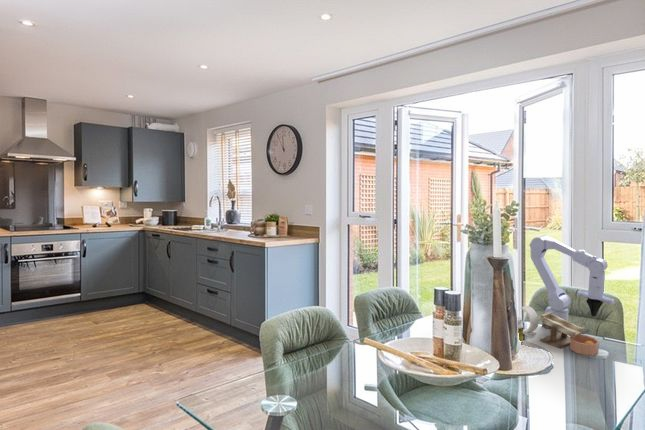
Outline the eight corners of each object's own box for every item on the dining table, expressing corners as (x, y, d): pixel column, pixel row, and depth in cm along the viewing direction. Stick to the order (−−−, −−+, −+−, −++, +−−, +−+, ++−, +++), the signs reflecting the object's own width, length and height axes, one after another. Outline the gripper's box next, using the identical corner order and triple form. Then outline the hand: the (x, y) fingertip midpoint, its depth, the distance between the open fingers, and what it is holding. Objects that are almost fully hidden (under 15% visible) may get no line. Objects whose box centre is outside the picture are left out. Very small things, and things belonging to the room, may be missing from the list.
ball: (583, 340, 182) (593, 345, 179) (588, 337, 184) (598, 343, 181) (580, 348, 183) (590, 353, 180) (585, 346, 185) (595, 351, 182)
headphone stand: (526, 330, 205) (528, 305, 203) (537, 335, 199) (539, 309, 198) (519, 332, 203) (521, 307, 201) (530, 337, 197) (532, 311, 196)
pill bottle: (520, 347, 187) (521, 322, 186) (505, 343, 191) (506, 318, 189) (523, 342, 192) (525, 317, 191) (509, 338, 196) (510, 314, 194)
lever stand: (540, 341, 193) (541, 324, 192) (556, 334, 200) (557, 318, 199) (560, 348, 185) (562, 331, 184) (576, 341, 193) (577, 324, 192)
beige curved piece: (538, 326, 196) (541, 315, 195) (553, 320, 203) (555, 309, 201) (573, 343, 184) (576, 332, 182) (587, 337, 191) (590, 325, 189)
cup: (565, 348, 185) (565, 338, 185) (577, 342, 191) (578, 332, 190) (590, 357, 177) (591, 346, 177) (602, 351, 183) (603, 340, 182)
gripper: (574, 283, 198) (572, 312, 199) (609, 291, 186) (607, 322, 187) (582, 280, 201) (580, 309, 203) (617, 288, 189) (615, 319, 191)
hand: (593, 315), depth 196 cm, fingers closed
